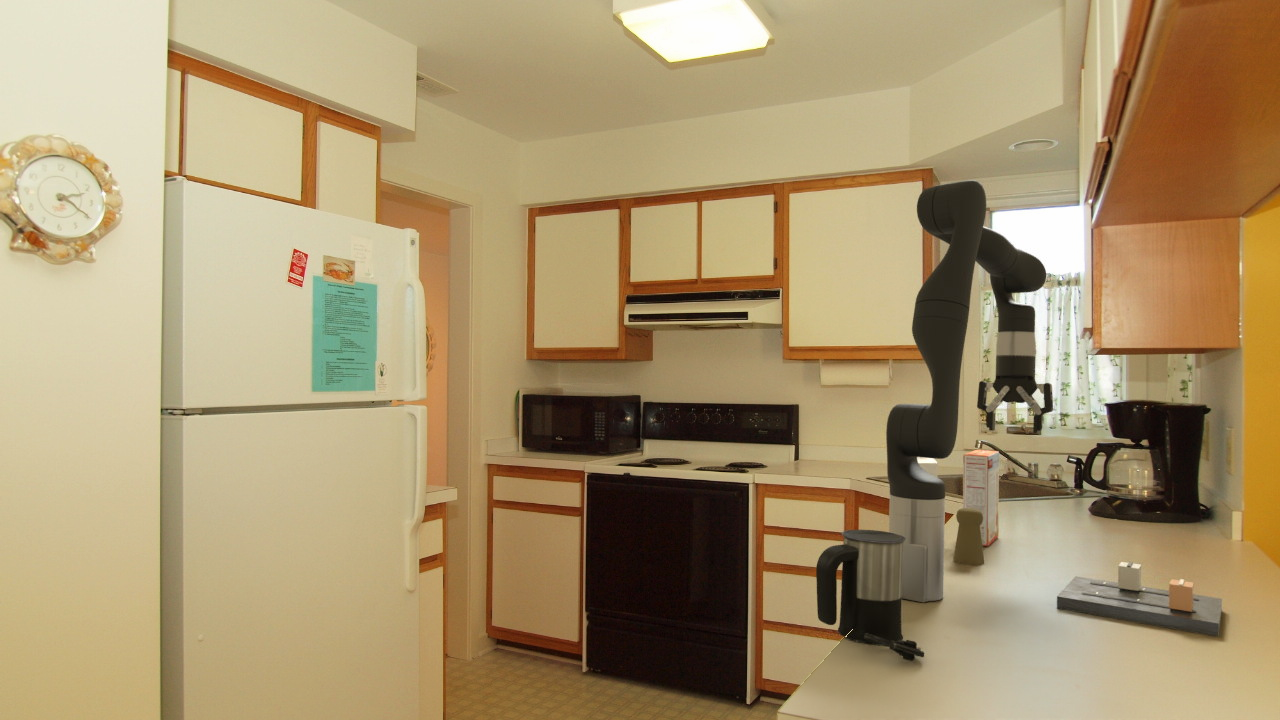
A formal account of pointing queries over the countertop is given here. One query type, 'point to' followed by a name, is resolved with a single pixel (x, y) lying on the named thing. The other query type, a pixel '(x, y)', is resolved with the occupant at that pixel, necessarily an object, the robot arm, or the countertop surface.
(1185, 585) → the fader orange
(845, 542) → the milk frother
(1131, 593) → the console
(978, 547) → the cork
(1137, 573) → the fader grey
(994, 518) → the cracker box
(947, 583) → the countertop surface
